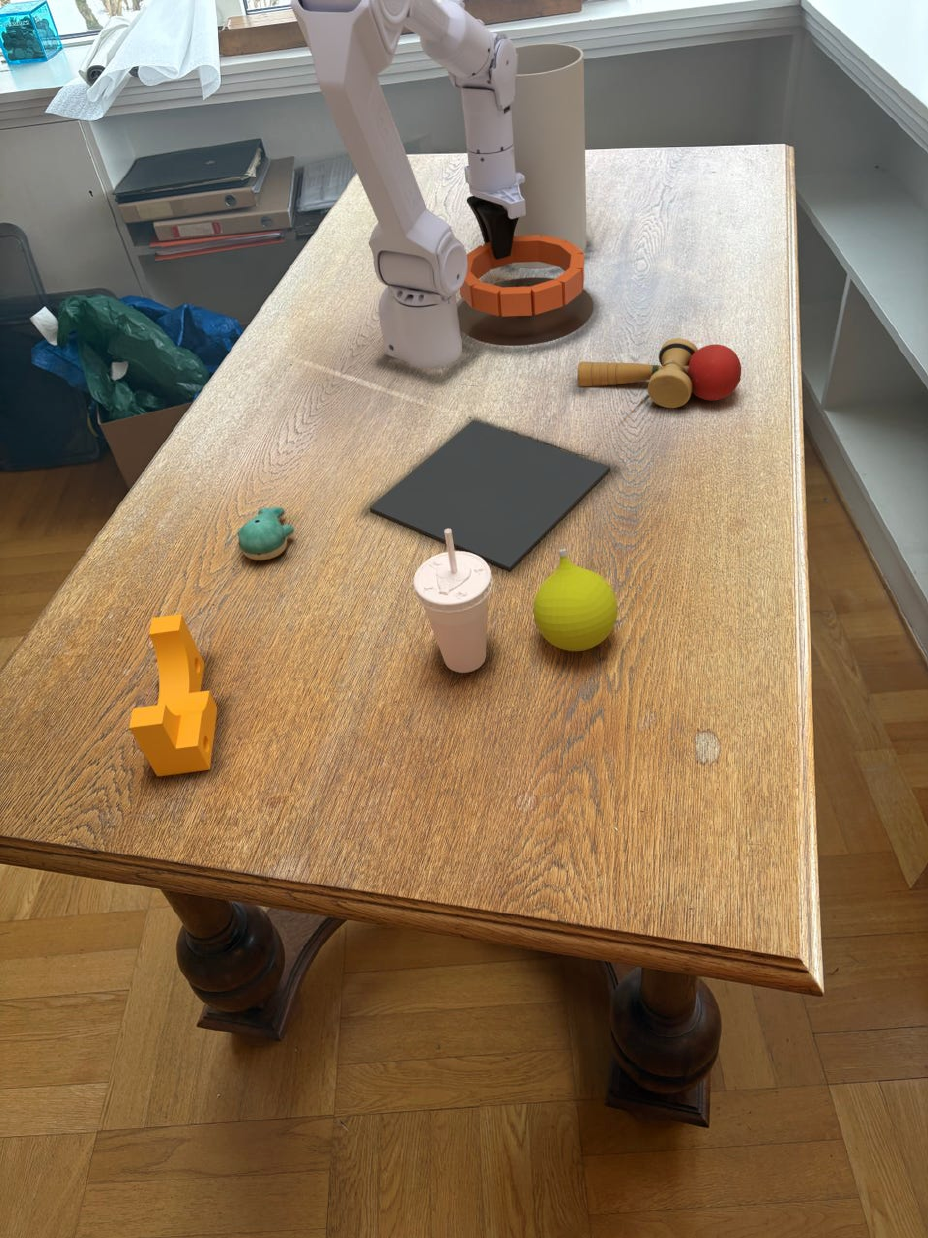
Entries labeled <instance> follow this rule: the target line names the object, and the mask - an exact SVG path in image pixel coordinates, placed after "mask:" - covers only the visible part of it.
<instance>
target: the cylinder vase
mask: <svg viewBox="0 0 928 1238" xmlns="http://www.w3.org/2000/svg"><path fill="white" fill-rule="evenodd" d="M515 49H516V54H518V68H517V74H516V78H515V96H514V101H513V102H512V103H511V112H512V127H513V143H514V157H515V172H516V173H521V174H522V175H523V176H524V177H525V182H524V183H521V184H519V188H520V193H521V196H522V197H523V198H524V199H525V210H526V215H525V216H521V217H519V219H518V222H517V225H516V228H515V233H514V236H522V235H540V237H541V236H543V235H546V236H551V237H555V238H560V239H564V240H567V242H569V241H570V242H571V243H573V244H574V245H575V246H576V247H577V248H579V249H580V250H581V251H582V252H583V254H585V252H586V249H587V243H588V241H587V239H588V237H587V186H586V185H587V184H586V183H587V182H586V179H587V177H586V128H585V127H586V125H585V124H586V123H585V122H586V121H585V120H586V119H585V118H586V117H585V65H584V63H585V62H584V57H585V55H584V51H583V50H582V49H581V48H580V47H577V46H575V45H571V44H566V43H557V42H556V43H555V42H548V43H547V42H546V43H532V44H525V45H519V46H515ZM510 265H511V266H514V267H516V268H517V267H518V268H523V269H549V268H555V267H556V266H553V265H549V264H545V263H541V262H525V263H512V264H510Z"/></svg>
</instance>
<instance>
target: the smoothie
mask: <svg viewBox="0 0 928 1238" xmlns="http://www.w3.org/2000/svg"><path fill="white" fill-rule="evenodd" d="M444 532H445V538H446V543H445V544H446V551H445V552H441V553H439V554H436V555H433V556H432V557H429V558H428V559H426V560H425V561H424V562H423V563H421V565H420V566H419V567H418V568H417V569H416V571H415V573H414V576H413V586H414V587H413V588H414V589H413V590H414V595H415V597H416V599H417V601H418V602H419V603H420V604H421V606H423V608H424V611H425V613H426V617H427V619H428V622H429V624H430V627H431V629H432V632H433V635H434V638H435V640H436V644H437V646H438V648H439V651H440V653H441V654H440V655H441V656H442V659H443V661H444V664H445V665H446V667H447V668H448V669H449V670H451V671H453V672H455V673H460V674H464V673H465V674H466V673H471V672H474V671H476V670H478V669H480V668H481V667H482V666H483V665H484V663H485V662H486V658H487V646H488V645H487V641H488V618H489V617H488V616H489V600H490V599H489V594H490V593H491V592H492V589H493V584H494V581H493V575H492V571H491V567H490V565H489V563H487V561H486V560H483V559H482V558H481V557H479V556H477V555H475V554H472V553H469V552H465V551H462V550H455V547H454V544H453V537H452V531H451V529H446V530H445V531H444Z"/></svg>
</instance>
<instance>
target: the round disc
mask: <svg viewBox="0 0 928 1238" xmlns="http://www.w3.org/2000/svg"><path fill="white" fill-rule="evenodd" d="M554 279H555V278H552V277H551V278H550V277H519V278H512V279H508V280H503V281H499V282H496V283H493V284H492V285H495V286H499V287H502V288H504V287H531V286H534V285H537V284H541V283H544V282H547V281H551V280H554ZM594 309H595V305H594V299H593V298H592V296H591V295H590V293H588V291H586V290H585V289H584V288H583V290H582V292H581V293H580V294H579V295H578V296H576V297H575V298H574V299H573V300H571V301H570V302H569V303H568V304H567V305H563V306H562V307H560V308H557V309H553V310H550V311H547V312H544V313H540V314H537V315H535V314H534V313H533V312H532V316H504V317H502V314H500V315H499V316H496V315H492V314H489V313H485V312H482V311H478V310H475V309H474V308H471V306H470V305H469V304H468V303H467V302H466V301H465V300H464V299H463V301H462V302H461V303H460V305H459V306H458V307H457V310H458V319H459V327H460V331H461V332H462V333H464V334H465V335H466V336H468V337H470V338H471V339H474V340H476V341H479V342H482V343H485V344H488V345H495V346H503V347H525V346H534V345H540V344H545V343H549V342H553V341H556V340H558V339H562V338H564V337H566V336H568V335H571V334H572V333H574V332H576V331H578V330H579V329H581V328H582V327H583V326H584V325H585V324H586V323H587V322H588V321H589V320H590V318H591V317H592V316H593V314H594Z"/></svg>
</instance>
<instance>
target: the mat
mask: <svg viewBox="0 0 928 1238" xmlns="http://www.w3.org/2000/svg"><path fill="white" fill-rule="evenodd" d="M610 471H611V467H610V466H609V465H606V464H603V463H600V462H598V461H594V460H592V459H589V458H586V457H583V456H580V455H578V454H574V453H571V452H568V451H565V450H562V449H560V448H556V447H553V446H550V445H547V444H545V443H542V442H538V441H536V440H533V439H530V438H527V437H524V436H522V435H518V434H515V433H513V432H510V431H507V430H504V429H501V428H498V427H495V426H492V425H489V424H486V423H484V422H481V421H477V420H475V419H472V420H471V421H470V422H469V423H468V424H466V425H465V426H464V427H463V428H462V429H461V430H459V431H458V432H457V433H456V434H454V436H452V437H451V438H450V439H448V441H446V442H445V443H444V444H443V445H441V446H440V447H439V448H438V449H436V451H435V452H433V453H432V454H431V455H430V456H429V457H428V458H426V459H425V460H424V461H423V462H422V463H420V464H419V465H418V466H416V467H415V468H414V469H413V470H412V471H411V472H410V473H408V474H407V475H406V476H405V477H404V478H402V480H400V481H399V482H398V483H397V484H395V485H394V486H393V487H392V488H391V489H390V490H388V491H386V493H385V494H384V495H383V496H381V497H380V498H378V500H377V501H375V502H374V503H373V504H372V505H370V506H369V510H370V512H372V513H374V514H376V515H379V516H381V517H383V518H385V519H388V520H390V521H393V522H395V523H397V524H399V525H402V526H405V527H406V528H408V529H412V530H414V531H416V532H418V533H421V534H423V535H425V536H428V537H430V538H432V539H435V540H437V541H439V542H442V543H444V544H446V538H445V532H444V531H445V530H446V529H451V531H452V537H453V544H454V549H458V550H459V551H462V552H469V553H472V554H475V555H477V556H479V557H481V558H482V559H483V560H485V561H486V562H488V563H490V564H492V565H495V566H497V567H500V568H502V569H505V570H507V571H509V572H511V571H512V570H513V569H514V568H515V567H516V566H517V565H518V564H519V563H520V562H521V561H522V560H523V559H524V558H525V557H526V556H527V555H528V554H529V553H530V552H531V551H532V550H533V549H534V548H535V547H536V546H537V545H538V544H539V542H540V541H542V540H543V539H544V538H545V537H546V535H548V533H550V531H552V530H553V529H554V527H556V526H557V524H558V523H560V521H561V520H563V518H565V516H566V515H568V513H569V512H571V510H572V509H573V508H575V506H576V505H577V504H578V503H580V501H581V500H582V499H583V498H584V497H585V496H586V495H587V494H588V493H589V492H590V491H591V490H592V489H593V488H594V487H595V486H596V485H597V484H598V483H599V482H600V481H601V480H602V479H603V478H605V476H606V475H607V474H608V473H609V472H610Z"/></svg>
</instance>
